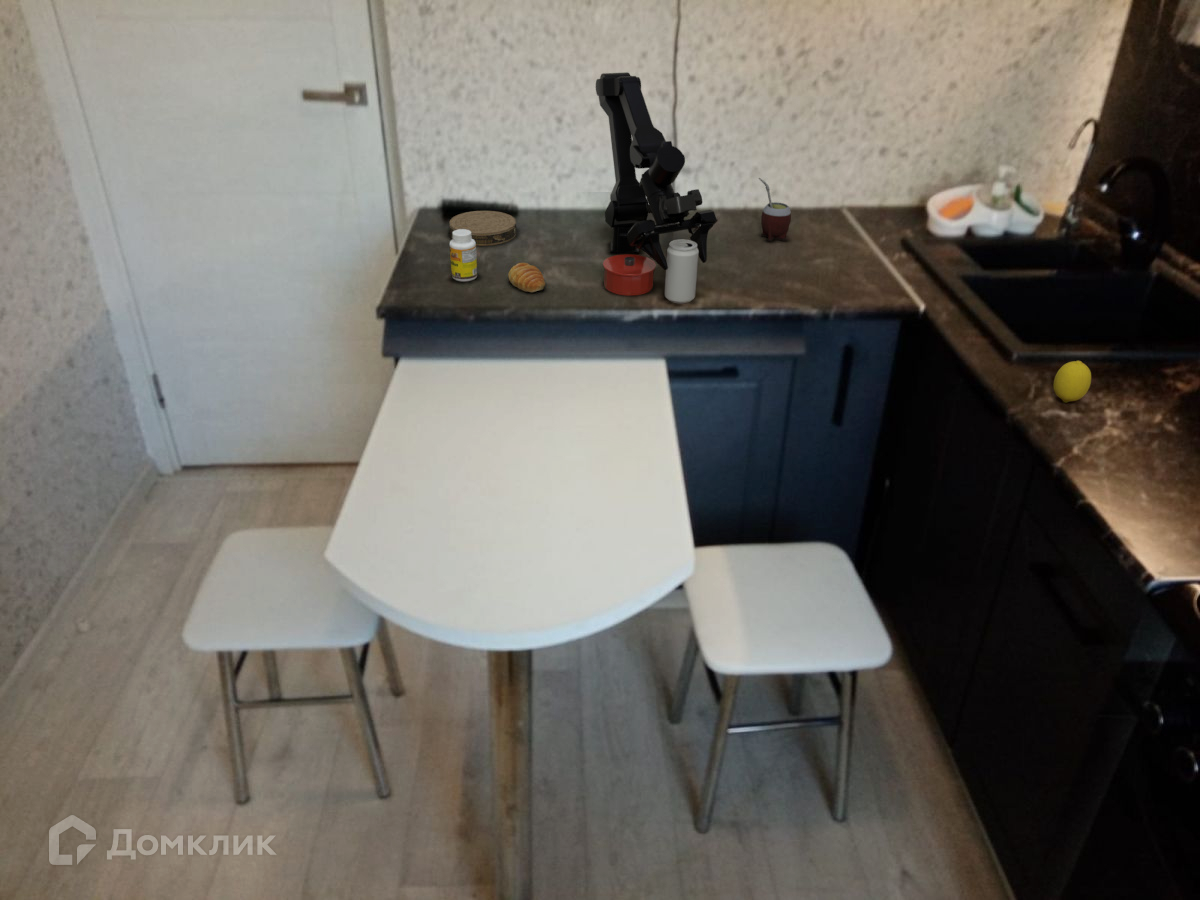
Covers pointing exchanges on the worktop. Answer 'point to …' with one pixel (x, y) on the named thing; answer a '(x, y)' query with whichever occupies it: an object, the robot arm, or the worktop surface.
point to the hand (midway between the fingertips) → (685, 265)
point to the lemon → (1072, 381)
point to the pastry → (526, 277)
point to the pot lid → (629, 265)
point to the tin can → (485, 226)
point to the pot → (628, 283)
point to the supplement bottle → (463, 256)
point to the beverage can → (681, 271)
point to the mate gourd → (775, 219)
